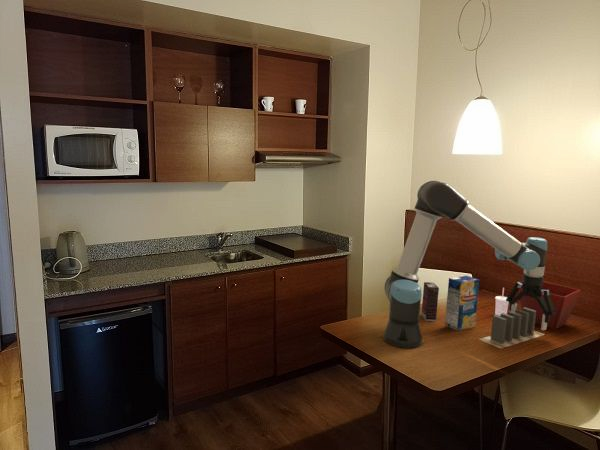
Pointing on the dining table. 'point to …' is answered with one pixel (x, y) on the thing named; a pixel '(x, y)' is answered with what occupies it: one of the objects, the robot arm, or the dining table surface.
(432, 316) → the supplement box
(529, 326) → the domino
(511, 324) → the domino
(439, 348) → the dining table surface
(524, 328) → the domino
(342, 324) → the dining table surface
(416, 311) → the robot arm
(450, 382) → the dining table surface
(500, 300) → the beverage cup
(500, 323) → the domino
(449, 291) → the beverage box
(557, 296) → the plant pot
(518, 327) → the domino
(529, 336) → the board
